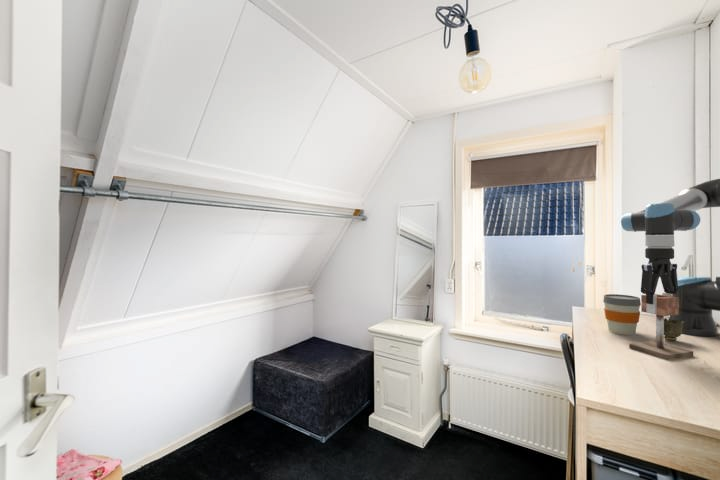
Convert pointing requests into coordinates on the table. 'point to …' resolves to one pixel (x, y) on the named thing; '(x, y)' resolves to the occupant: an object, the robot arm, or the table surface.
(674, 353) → the brown square board
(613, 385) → the table surface
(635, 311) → the reusable coffee cup
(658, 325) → the silver metal rod
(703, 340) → the table surface
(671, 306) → the brown open box
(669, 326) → the cup
